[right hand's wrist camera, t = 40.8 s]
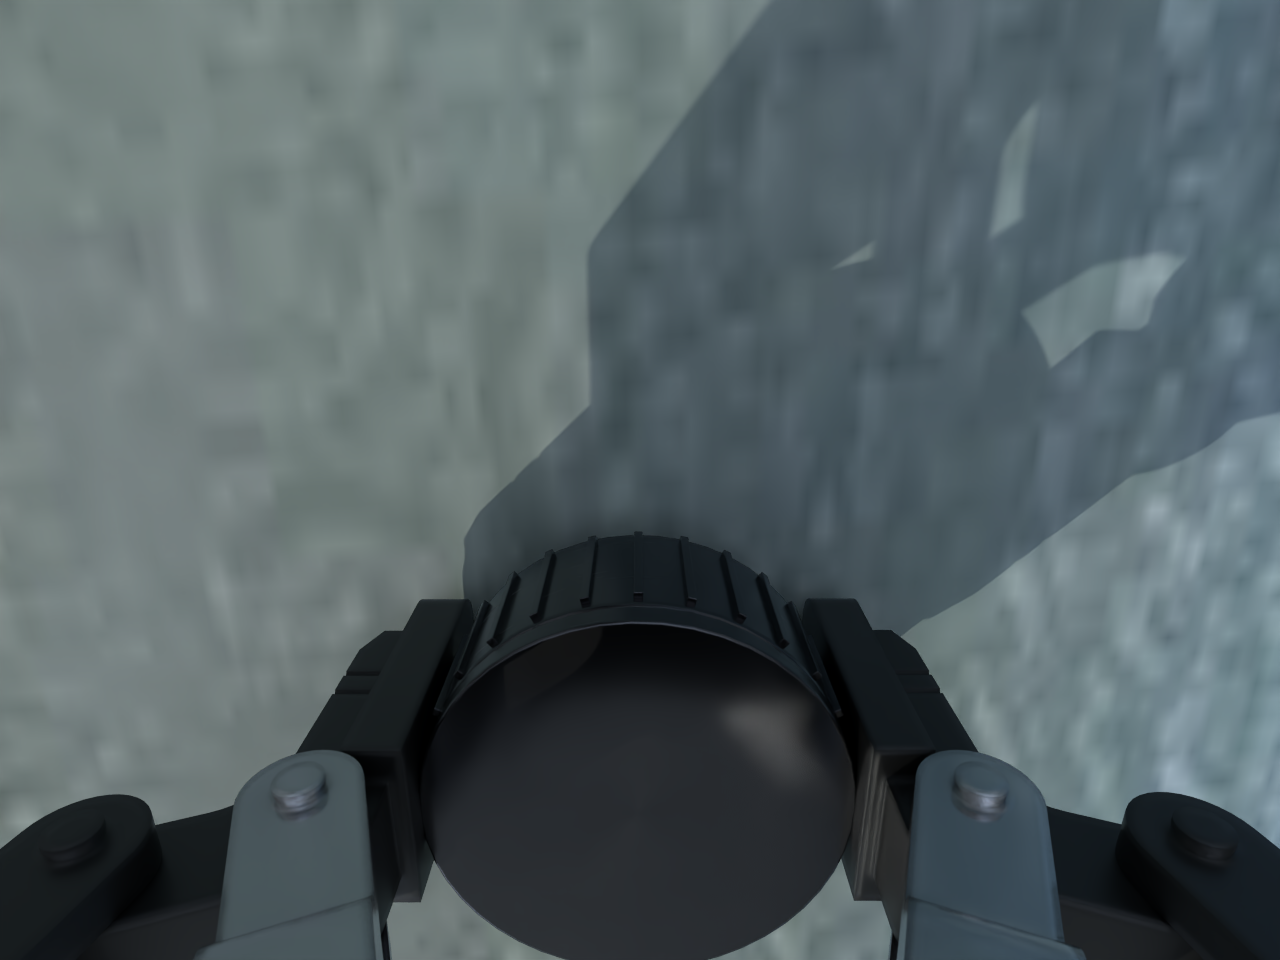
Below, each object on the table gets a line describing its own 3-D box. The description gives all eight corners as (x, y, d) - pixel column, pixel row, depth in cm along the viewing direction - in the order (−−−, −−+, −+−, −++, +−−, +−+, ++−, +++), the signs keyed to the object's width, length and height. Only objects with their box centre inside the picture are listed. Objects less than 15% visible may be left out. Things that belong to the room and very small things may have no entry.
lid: (488, 488, 10) (447, 568, 8) (870, 572, 11) (931, 670, 8) (430, 800, 12) (384, 935, 10) (760, 861, 12) (786, 1004, 10)
